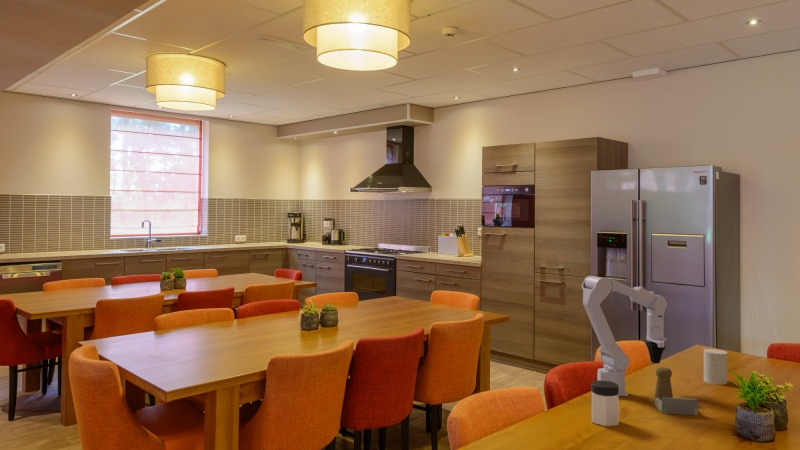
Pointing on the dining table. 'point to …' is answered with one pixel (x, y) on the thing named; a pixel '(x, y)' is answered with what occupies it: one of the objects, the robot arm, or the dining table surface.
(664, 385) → the cork
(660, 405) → the grey rectangular box
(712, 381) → the white stone cylinder
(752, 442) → the dining table surface
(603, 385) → the jar
